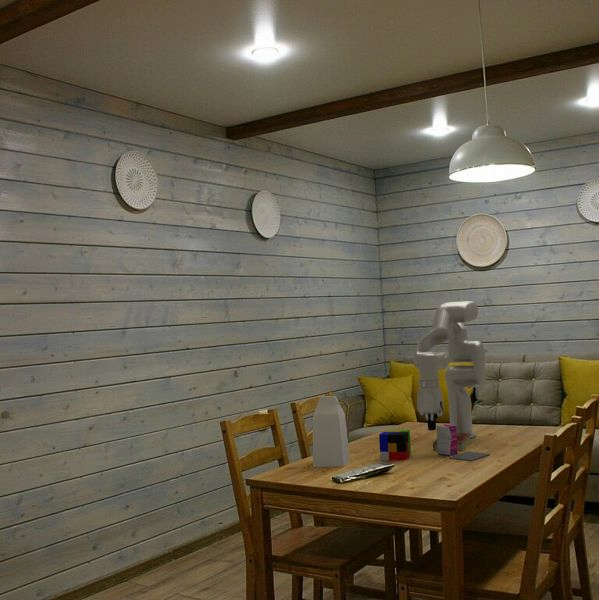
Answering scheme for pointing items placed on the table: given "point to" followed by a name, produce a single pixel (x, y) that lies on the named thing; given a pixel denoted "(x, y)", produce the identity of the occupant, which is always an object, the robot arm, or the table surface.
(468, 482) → the table surface
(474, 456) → the mat
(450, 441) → the supplement box
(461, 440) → the hardcover book
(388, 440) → the puzzle toy
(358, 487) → the table surface
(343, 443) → the milk
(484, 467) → the table surface
